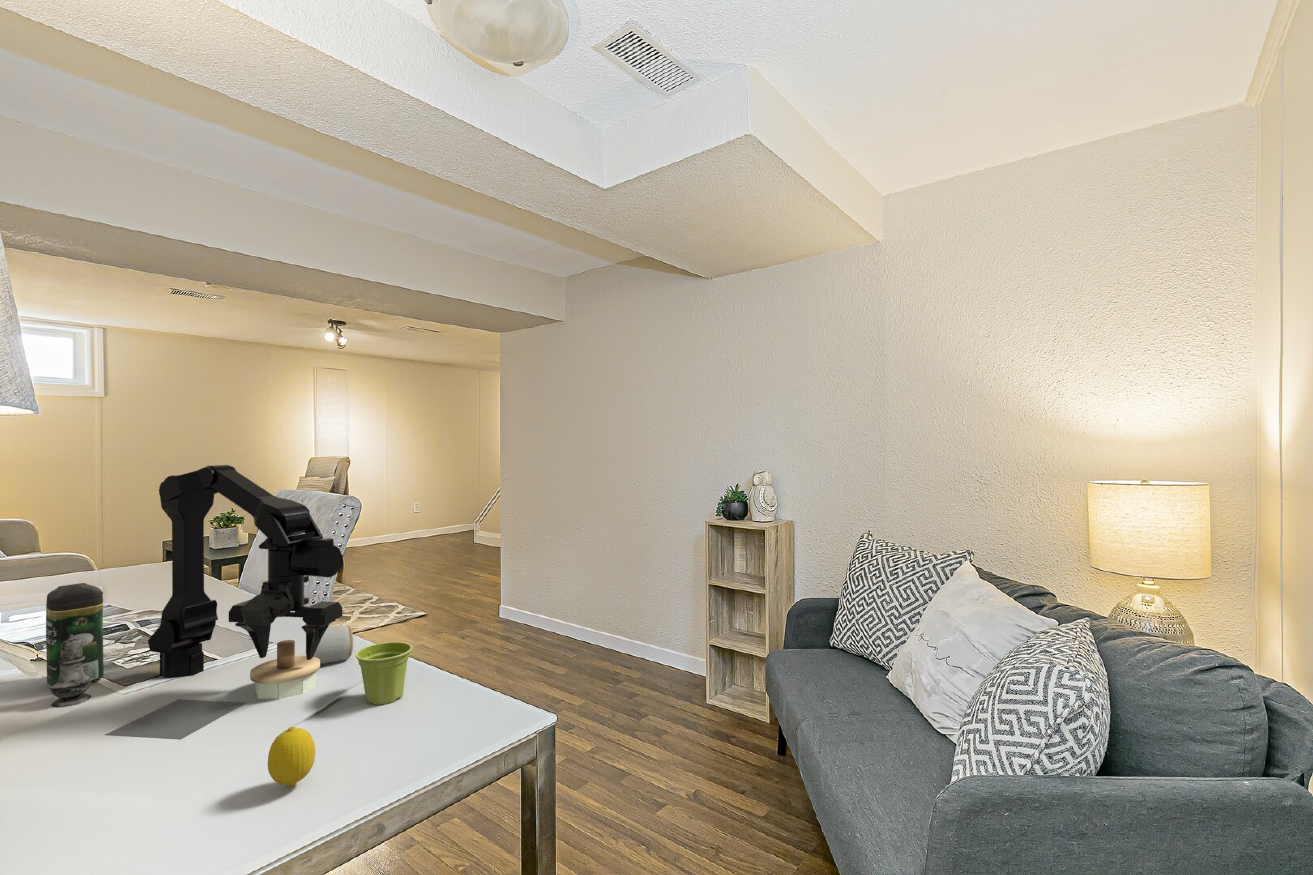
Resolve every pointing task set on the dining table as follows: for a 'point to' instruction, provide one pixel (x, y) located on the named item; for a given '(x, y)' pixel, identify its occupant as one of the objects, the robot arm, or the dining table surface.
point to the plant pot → (384, 670)
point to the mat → (177, 719)
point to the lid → (284, 666)
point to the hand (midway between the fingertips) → (286, 658)
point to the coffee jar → (75, 627)
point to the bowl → (285, 688)
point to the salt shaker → (71, 676)
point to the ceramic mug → (335, 644)
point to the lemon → (291, 756)
